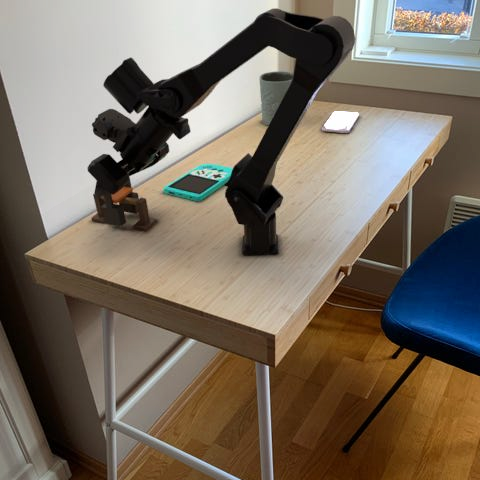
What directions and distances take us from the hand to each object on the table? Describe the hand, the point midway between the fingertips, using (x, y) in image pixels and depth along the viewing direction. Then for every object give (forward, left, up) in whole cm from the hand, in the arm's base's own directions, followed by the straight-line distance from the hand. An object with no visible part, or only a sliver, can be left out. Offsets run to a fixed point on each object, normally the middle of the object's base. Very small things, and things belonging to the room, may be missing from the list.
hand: (110, 185), depth 102 cm
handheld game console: (+16, -16, -8) cm, 24 cm away
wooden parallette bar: (-1, -1, -8) cm, 8 cm away
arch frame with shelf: (0, -1, -7) cm, 7 cm away
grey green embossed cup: (+56, -34, -8) cm, 66 cm away
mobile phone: (+52, -51, -8) cm, 73 cm away
